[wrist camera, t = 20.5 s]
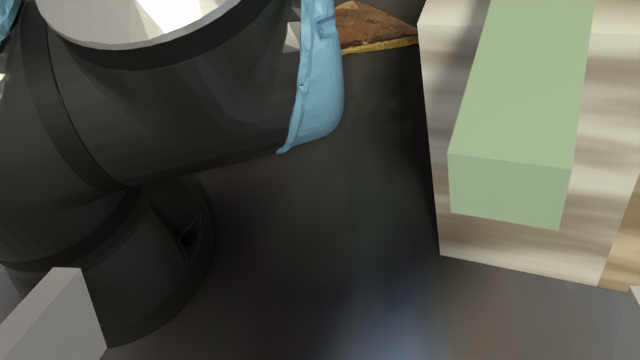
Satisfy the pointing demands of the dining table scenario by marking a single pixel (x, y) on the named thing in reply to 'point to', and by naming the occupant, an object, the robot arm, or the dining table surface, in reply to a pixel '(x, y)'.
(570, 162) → the green block
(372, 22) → the shard
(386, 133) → the dining table surface
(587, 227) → the stand
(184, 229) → the robot arm
